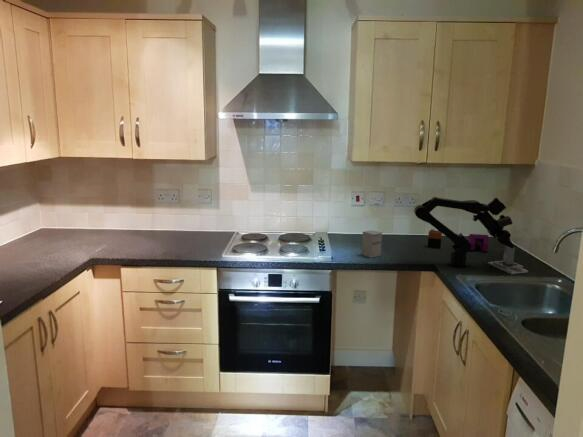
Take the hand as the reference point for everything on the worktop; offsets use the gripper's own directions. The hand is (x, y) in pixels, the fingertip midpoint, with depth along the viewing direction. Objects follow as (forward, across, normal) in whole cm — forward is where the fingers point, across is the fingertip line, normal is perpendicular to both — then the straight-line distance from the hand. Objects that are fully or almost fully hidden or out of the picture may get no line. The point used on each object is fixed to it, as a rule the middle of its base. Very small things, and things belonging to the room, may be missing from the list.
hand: (510, 245), depth 223 cm
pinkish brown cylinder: (-37, +9, +54) cm, 67 cm away
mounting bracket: (+4, +36, +13) cm, 38 cm away
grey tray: (+8, 0, +8) cm, 11 cm away
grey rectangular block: (+7, 0, +7) cm, 10 cm away
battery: (-12, +32, +29) cm, 46 cm away
